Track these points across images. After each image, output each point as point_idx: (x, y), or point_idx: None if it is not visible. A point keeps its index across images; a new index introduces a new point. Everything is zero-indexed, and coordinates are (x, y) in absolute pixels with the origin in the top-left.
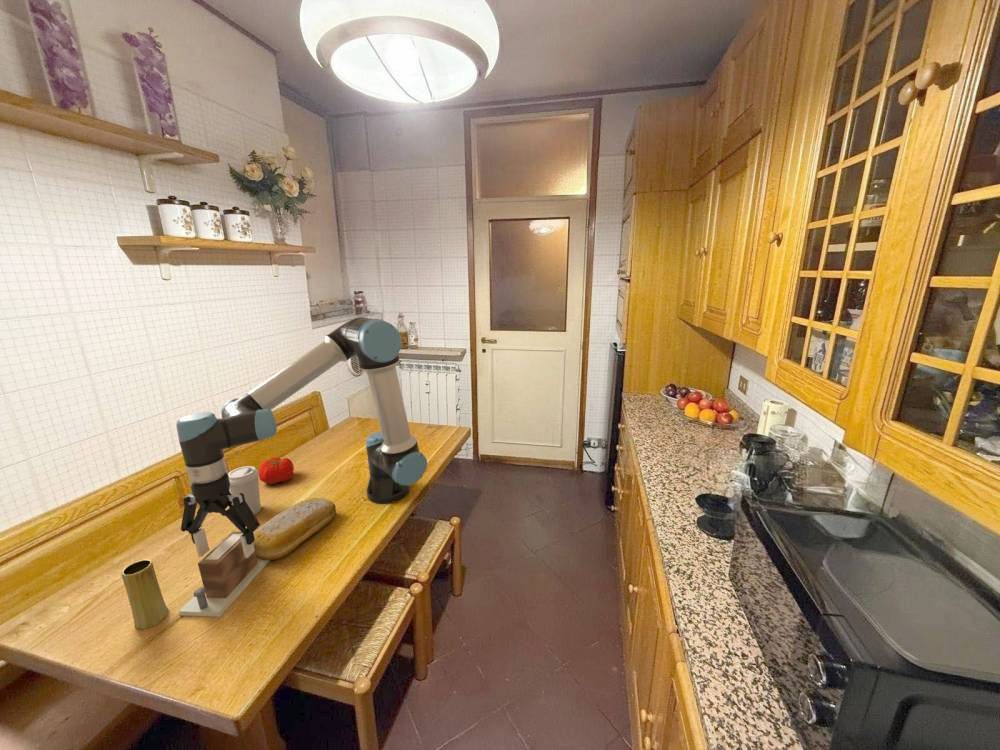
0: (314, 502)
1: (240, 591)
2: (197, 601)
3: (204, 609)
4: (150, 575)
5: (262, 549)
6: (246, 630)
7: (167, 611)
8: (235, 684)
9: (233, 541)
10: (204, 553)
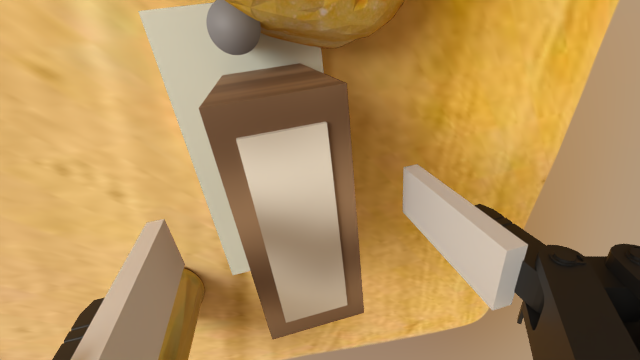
0: None
1: None
2: None
3: None
4: None
5: (330, 40)
6: (421, 244)
7: (191, 276)
8: (460, 304)
9: (315, 199)
10: (176, 249)
